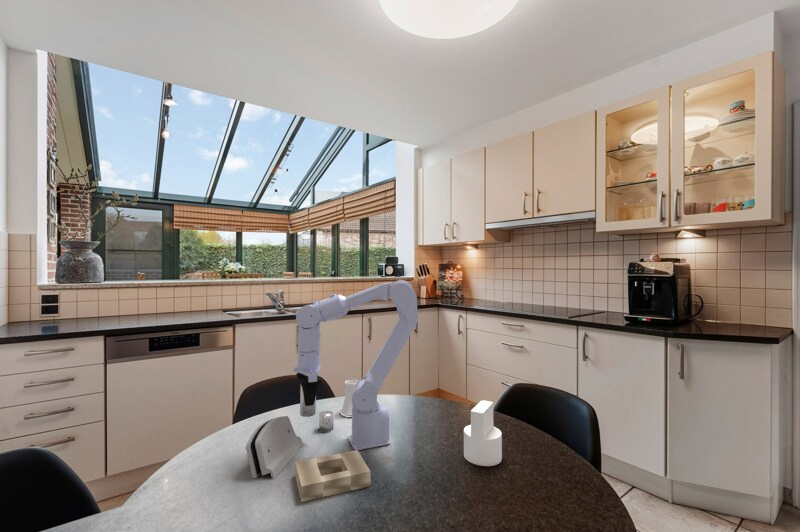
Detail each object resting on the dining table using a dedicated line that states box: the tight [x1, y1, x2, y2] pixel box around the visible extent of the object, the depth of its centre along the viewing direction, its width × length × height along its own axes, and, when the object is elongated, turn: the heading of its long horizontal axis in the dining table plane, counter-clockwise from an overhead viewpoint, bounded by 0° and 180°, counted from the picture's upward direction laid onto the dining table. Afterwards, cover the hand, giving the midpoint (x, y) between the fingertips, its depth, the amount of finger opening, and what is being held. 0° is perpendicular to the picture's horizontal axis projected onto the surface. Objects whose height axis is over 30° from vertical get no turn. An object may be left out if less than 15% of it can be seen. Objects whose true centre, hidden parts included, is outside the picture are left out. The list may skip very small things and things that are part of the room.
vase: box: [339, 379, 360, 416], centre depth 115 cm, size 8×8×10 cm
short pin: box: [318, 410, 334, 433], centre depth 103 cm, size 4×4×4 cm
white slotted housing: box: [245, 415, 304, 480], centre depth 86 cm, size 17×5×10 cm, turn 173°
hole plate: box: [294, 450, 372, 503], centre depth 77 cm, size 14×10×3 cm
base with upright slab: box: [463, 399, 503, 467], centre depth 88 cm, size 9×9×12 cm
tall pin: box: [299, 377, 317, 418], centre depth 95 cm, size 4×4×9 cm
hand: (308, 402), depth 95 cm, fingers closed on tall pin, 4 cm apart
